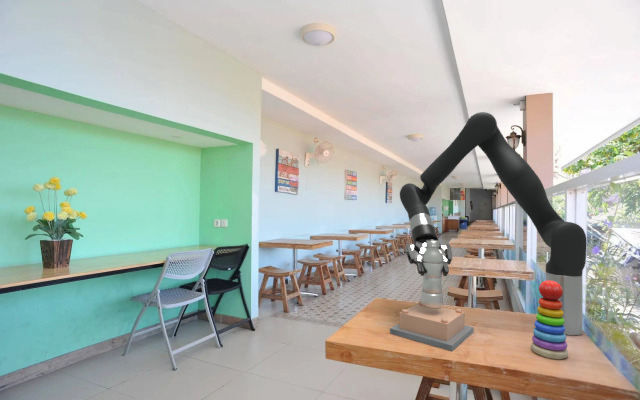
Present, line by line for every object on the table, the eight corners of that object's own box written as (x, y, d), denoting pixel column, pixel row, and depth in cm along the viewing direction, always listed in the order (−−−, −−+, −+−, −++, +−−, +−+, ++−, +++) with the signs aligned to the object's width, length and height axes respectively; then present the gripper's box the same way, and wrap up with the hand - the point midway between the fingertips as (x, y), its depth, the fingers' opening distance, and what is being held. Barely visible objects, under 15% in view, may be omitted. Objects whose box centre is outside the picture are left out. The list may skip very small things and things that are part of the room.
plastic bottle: (416, 307, 100) (416, 240, 101) (428, 303, 105) (428, 238, 105) (436, 313, 96) (436, 242, 96) (448, 308, 100) (448, 240, 100)
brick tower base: (416, 318, 113) (416, 297, 113) (473, 332, 101) (473, 309, 101) (389, 333, 99) (390, 310, 99) (452, 351, 87) (452, 324, 87)
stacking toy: (527, 352, 87) (527, 279, 87) (535, 344, 93) (535, 275, 93) (564, 363, 81) (564, 285, 82) (570, 353, 87) (570, 280, 87)
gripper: (402, 222, 108) (412, 266, 96) (448, 223, 108) (463, 267, 96) (399, 237, 113) (407, 281, 101) (442, 238, 113) (455, 281, 101)
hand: (434, 274), depth 99 cm, fingers closed on plastic bottle, 6 cm apart
